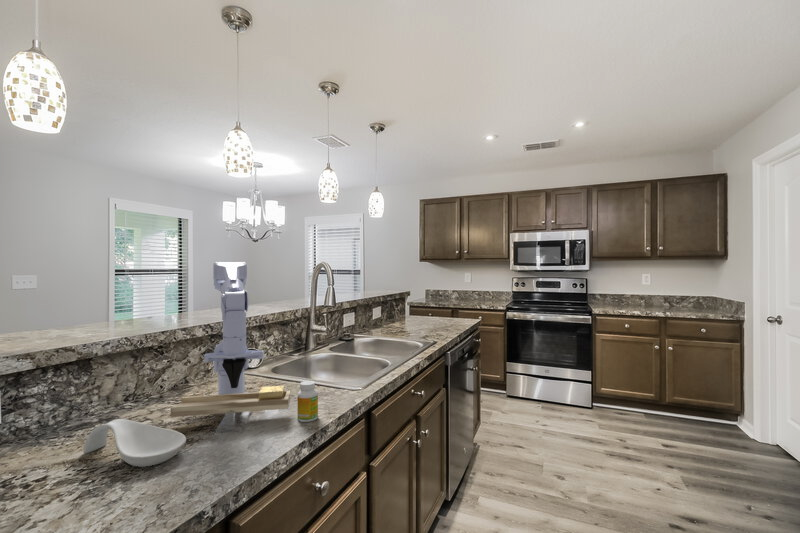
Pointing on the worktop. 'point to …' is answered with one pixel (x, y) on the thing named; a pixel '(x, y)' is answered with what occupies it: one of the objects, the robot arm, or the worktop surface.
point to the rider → (271, 393)
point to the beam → (227, 404)
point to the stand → (233, 421)
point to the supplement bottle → (307, 402)
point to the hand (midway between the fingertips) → (234, 387)
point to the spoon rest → (137, 442)
